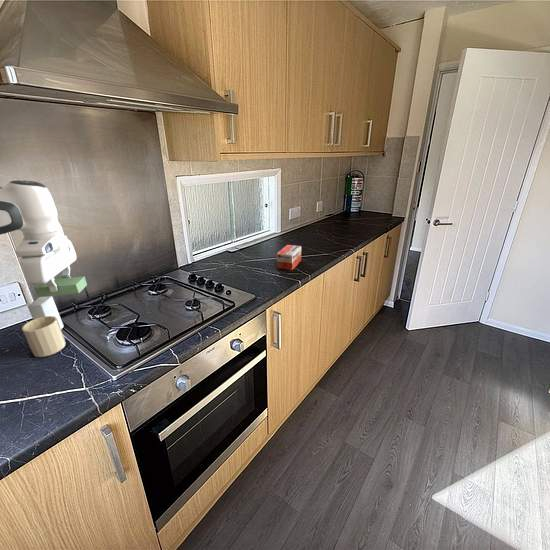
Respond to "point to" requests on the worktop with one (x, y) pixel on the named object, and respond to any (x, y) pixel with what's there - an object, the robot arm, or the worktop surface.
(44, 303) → the cosmetic box
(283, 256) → the medicine box
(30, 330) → the cup
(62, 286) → the green flat block
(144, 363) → the worktop surface
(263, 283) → the worktop surface
